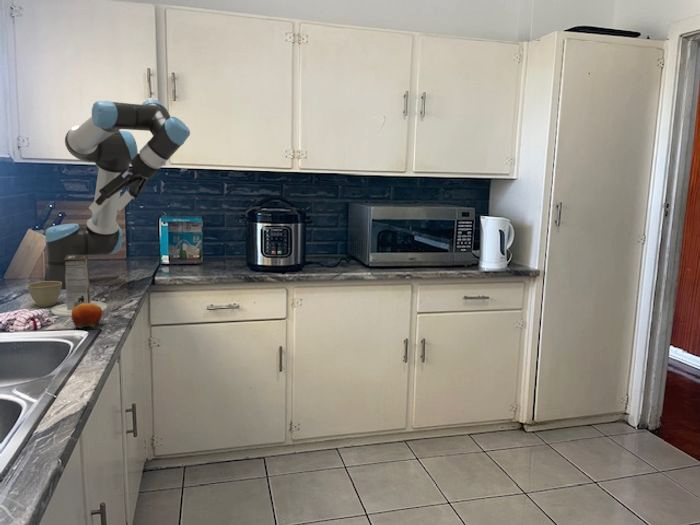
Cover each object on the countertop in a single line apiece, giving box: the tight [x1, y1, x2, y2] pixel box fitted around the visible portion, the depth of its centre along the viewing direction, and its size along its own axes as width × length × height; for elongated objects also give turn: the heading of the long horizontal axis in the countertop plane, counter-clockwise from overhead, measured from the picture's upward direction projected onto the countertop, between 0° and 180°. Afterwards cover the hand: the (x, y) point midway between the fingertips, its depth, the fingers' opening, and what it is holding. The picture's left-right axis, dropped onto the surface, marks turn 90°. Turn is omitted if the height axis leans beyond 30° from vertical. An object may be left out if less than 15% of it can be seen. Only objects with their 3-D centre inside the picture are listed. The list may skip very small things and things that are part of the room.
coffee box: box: [64, 255, 92, 310], centre depth 174 cm, size 9×6×16 cm
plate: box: [51, 300, 108, 318], centre depth 175 cm, size 16×16×1 cm
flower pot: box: [27, 280, 62, 308], centre depth 181 cm, size 10×10×7 cm
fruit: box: [71, 303, 103, 329], centre depth 157 cm, size 8×8×8 cm
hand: (105, 209), depth 169 cm, fingers open, 13 cm apart
